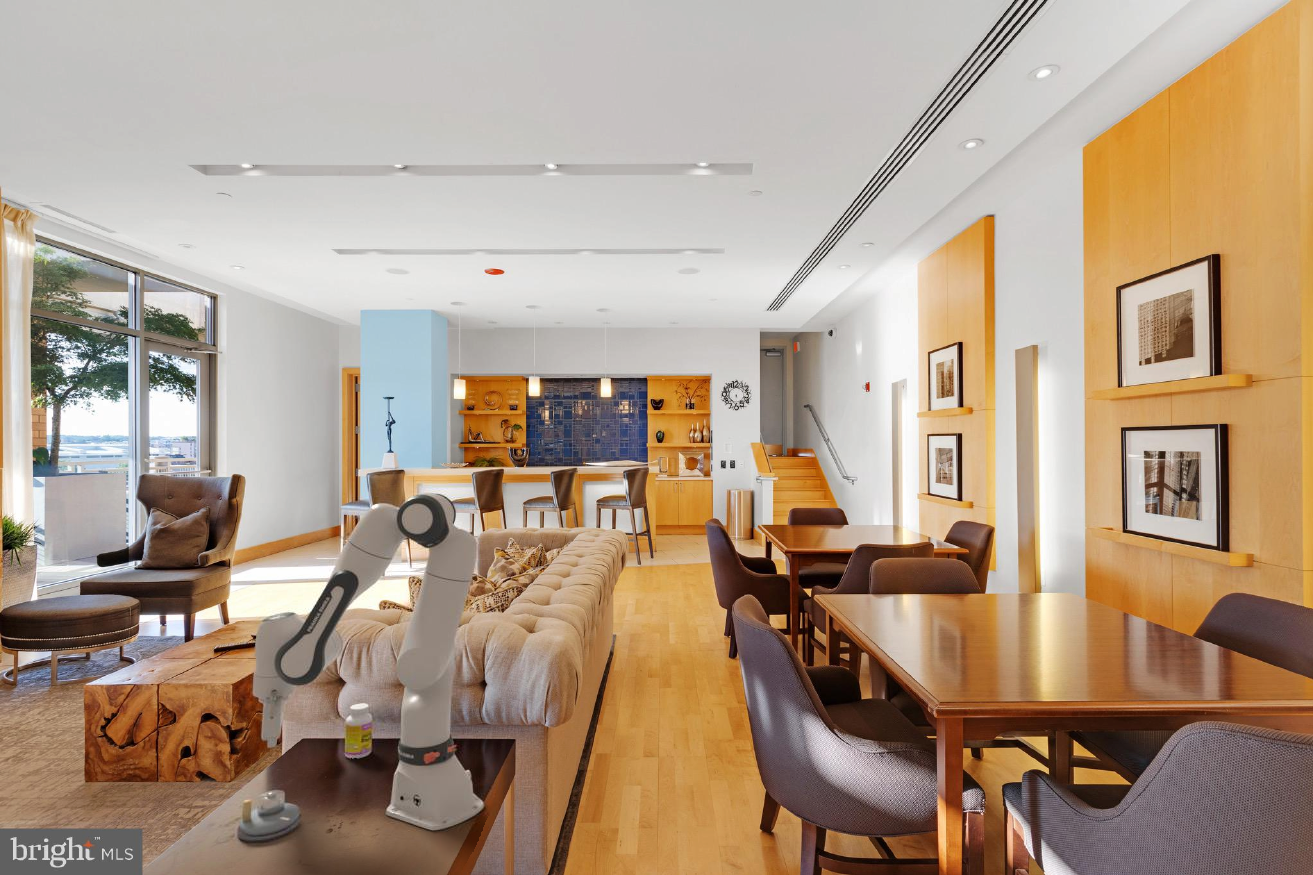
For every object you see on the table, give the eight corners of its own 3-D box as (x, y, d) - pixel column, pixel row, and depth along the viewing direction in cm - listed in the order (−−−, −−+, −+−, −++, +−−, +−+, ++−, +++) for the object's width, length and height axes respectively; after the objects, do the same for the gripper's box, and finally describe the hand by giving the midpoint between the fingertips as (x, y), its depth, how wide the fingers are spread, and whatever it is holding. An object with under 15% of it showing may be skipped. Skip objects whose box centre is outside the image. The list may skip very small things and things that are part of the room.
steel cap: (288, 809, 151) (289, 792, 151) (263, 819, 147) (263, 801, 147) (278, 802, 154) (278, 785, 154) (253, 811, 150) (253, 793, 150)
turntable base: (311, 825, 149) (311, 820, 149) (251, 849, 140) (251, 844, 140) (286, 807, 157) (286, 803, 157) (228, 829, 147) (228, 824, 147)
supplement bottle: (361, 760, 182) (362, 711, 182) (339, 758, 183) (340, 709, 183) (376, 750, 188) (377, 702, 189) (355, 748, 189) (356, 701, 190)
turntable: (308, 819, 149) (309, 795, 149) (252, 841, 140) (253, 815, 141) (285, 803, 156) (286, 780, 156) (231, 823, 147) (231, 798, 148)
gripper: (289, 696, 151) (285, 760, 150) (291, 670, 169) (289, 727, 168) (255, 700, 148) (252, 765, 147) (262, 673, 166) (259, 731, 165)
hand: (272, 745), depth 158 cm, fingers closed
